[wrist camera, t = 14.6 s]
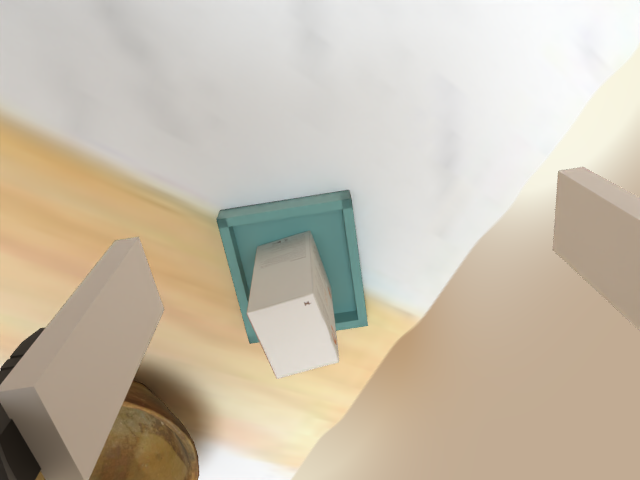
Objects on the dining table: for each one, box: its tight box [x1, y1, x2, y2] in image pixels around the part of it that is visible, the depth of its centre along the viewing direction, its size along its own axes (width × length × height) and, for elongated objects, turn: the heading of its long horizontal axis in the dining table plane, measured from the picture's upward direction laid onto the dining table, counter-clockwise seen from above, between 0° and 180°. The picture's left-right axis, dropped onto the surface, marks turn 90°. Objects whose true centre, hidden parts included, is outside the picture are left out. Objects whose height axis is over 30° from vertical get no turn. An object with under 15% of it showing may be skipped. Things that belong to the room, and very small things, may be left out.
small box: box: [246, 231, 339, 378], centre depth 48 cm, size 8×6×13 cm
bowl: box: [35, 381, 199, 480], centre depth 58 cm, size 22×23×10 cm
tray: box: [217, 190, 368, 344], centre depth 54 cm, size 14×16×3 cm
